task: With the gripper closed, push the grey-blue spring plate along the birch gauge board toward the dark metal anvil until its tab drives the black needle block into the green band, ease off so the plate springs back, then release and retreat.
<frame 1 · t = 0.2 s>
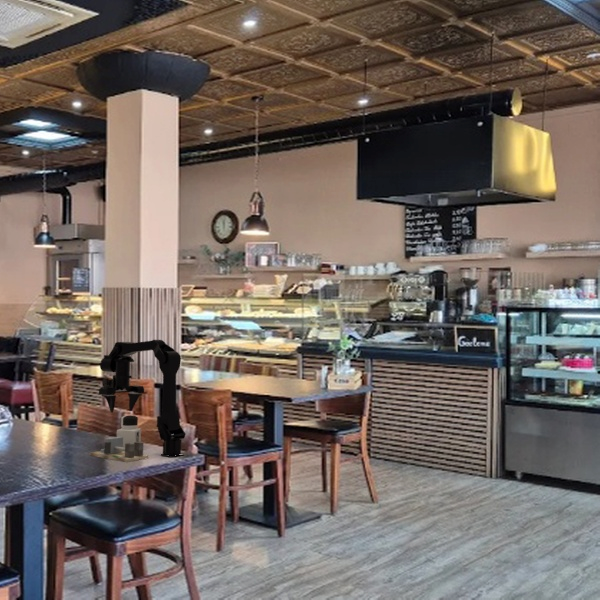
hand: (121, 411, 321), 14 cm above the table, fingers open, 9 cm apart
container: (128, 448, 319), on the table
gauge board: (118, 456, 299), on the table
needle: (107, 447, 296), point 4 cm above the table, slide at 0.0 cm
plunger: (117, 446, 298), point 4 cm above the table, slide at 0.0 cm
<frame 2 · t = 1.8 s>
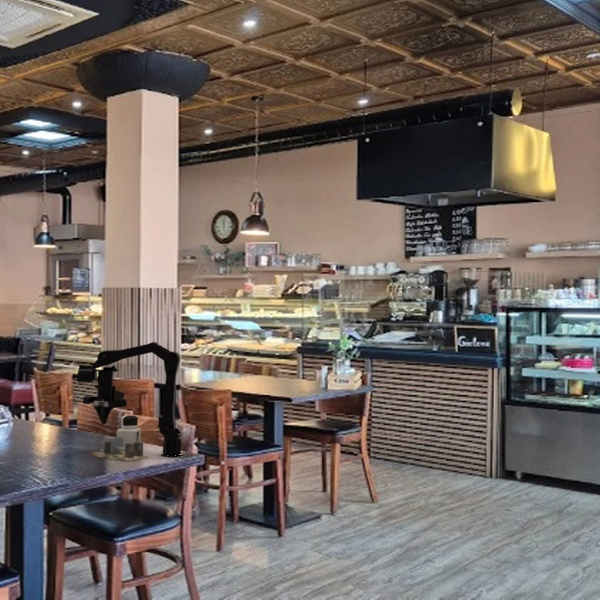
hand: (103, 424, 304), 11 cm above the table, fingers closed
nothing on the table moved.
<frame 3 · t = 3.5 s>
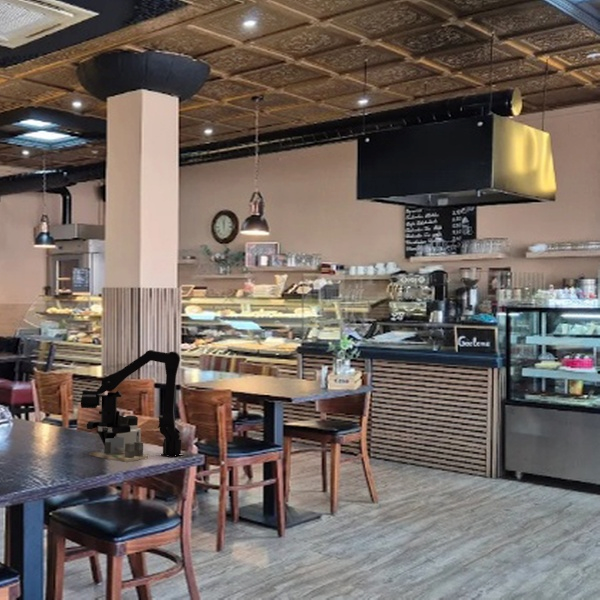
hand: (107, 449, 303), 2 cm above the table, fingers closed
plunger: (117, 446, 298), point 4 cm above the table, slide at 0.4 cm, touching gripper
everything else where it was.
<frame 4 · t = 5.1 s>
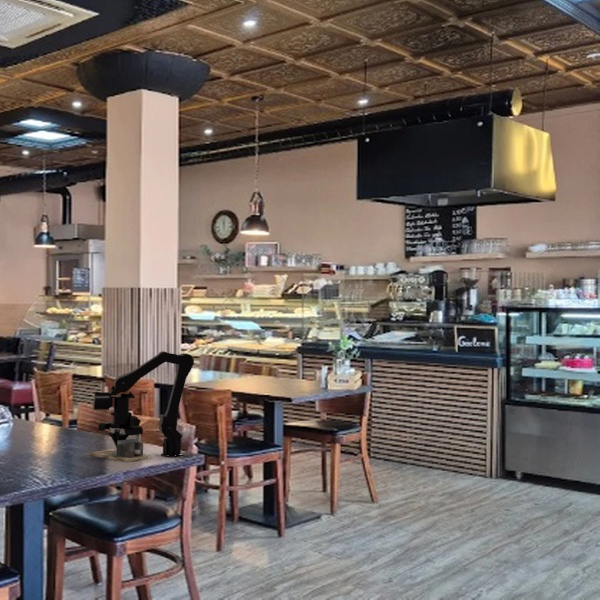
hand: (119, 451, 299), 2 cm above the table, fingers closed
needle: (119, 449, 292), point 4 cm above the table, slide at 6.6 cm, touching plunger
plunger: (130, 448, 294), point 4 cm above the table, slide at 7.0 cm, touching gripper, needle
everything else where it was.
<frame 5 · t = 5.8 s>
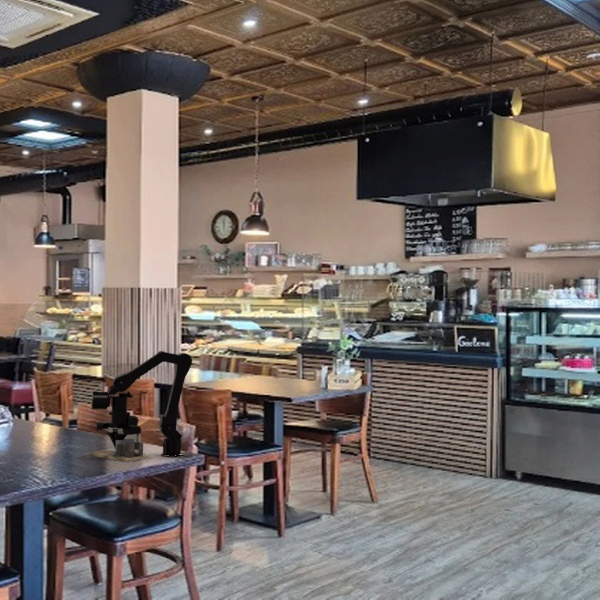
hand: (117, 451, 299), 2 cm above the table, fingers closed
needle: (119, 449, 292), point 4 cm above the table, slide at 6.6 cm
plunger: (128, 448, 295), point 4 cm above the table, slide at 6.1 cm, touching gripper
everything else where it was.
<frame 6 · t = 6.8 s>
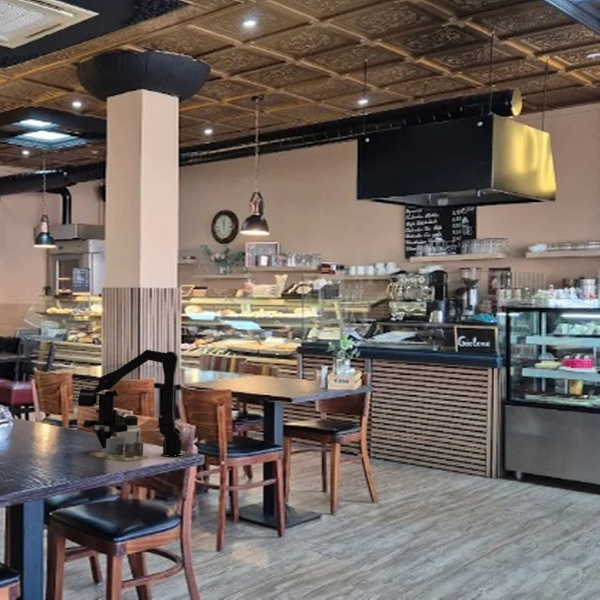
hand: (104, 448, 303), 2 cm above the table, fingers closed
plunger: (118, 446, 298), point 4 cm above the table, slide at 0.9 cm
everything else where it was.
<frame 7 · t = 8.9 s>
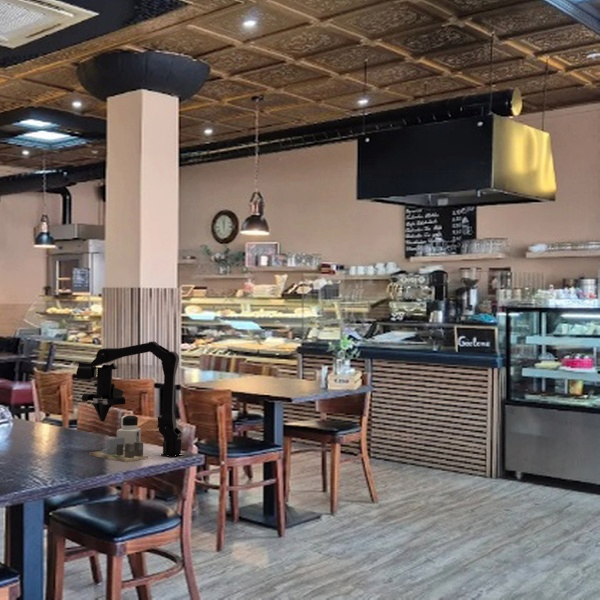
hand: (102, 421, 306), 12 cm above the table, fingers closed
nothing on the table moved.
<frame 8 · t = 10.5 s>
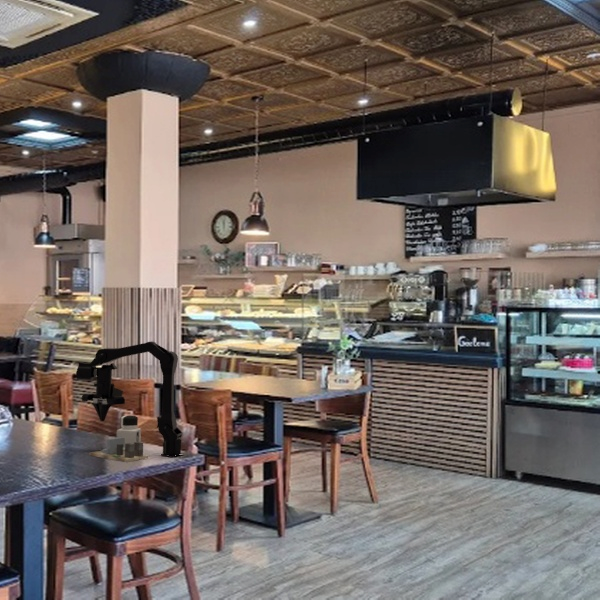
hand: (102, 421, 308), 12 cm above the table, fingers closed
nothing on the table moved.
at the end: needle 1.9 cm from the target spot, resting on gauge board; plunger slide at 0.9 cm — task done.
